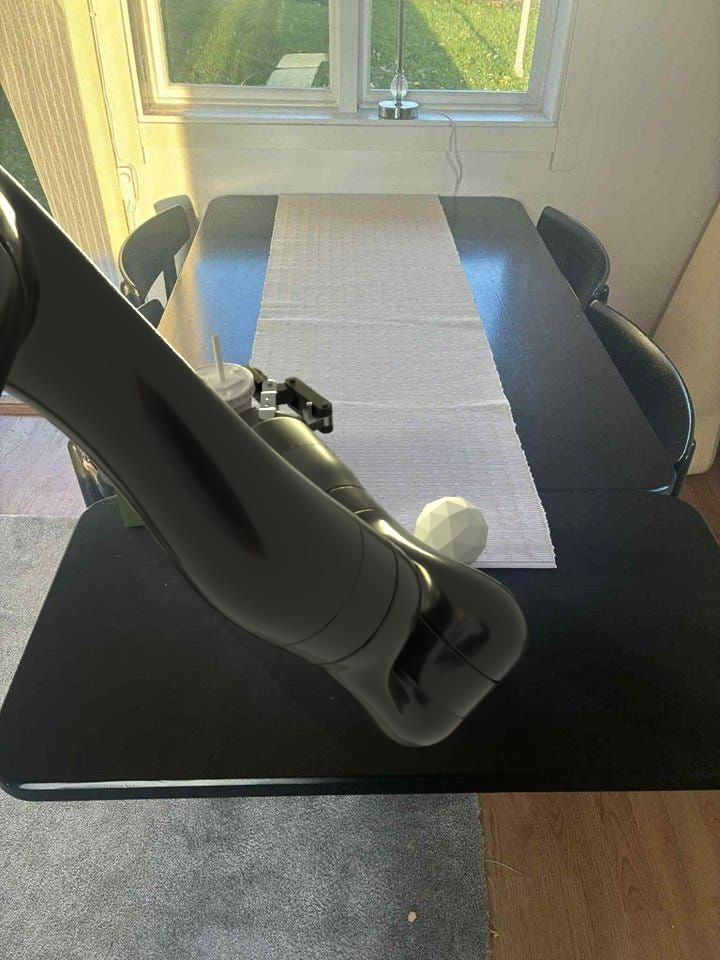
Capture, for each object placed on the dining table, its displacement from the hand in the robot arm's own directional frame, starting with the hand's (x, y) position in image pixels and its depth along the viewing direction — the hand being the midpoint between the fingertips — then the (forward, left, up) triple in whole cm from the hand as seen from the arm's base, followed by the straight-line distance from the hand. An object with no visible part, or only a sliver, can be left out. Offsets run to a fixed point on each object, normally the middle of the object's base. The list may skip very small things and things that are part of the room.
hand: (207, 386), depth 61 cm
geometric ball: (+23, +2, -23) cm, 33 cm away
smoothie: (+1, -2, -8) cm, 9 cm away
